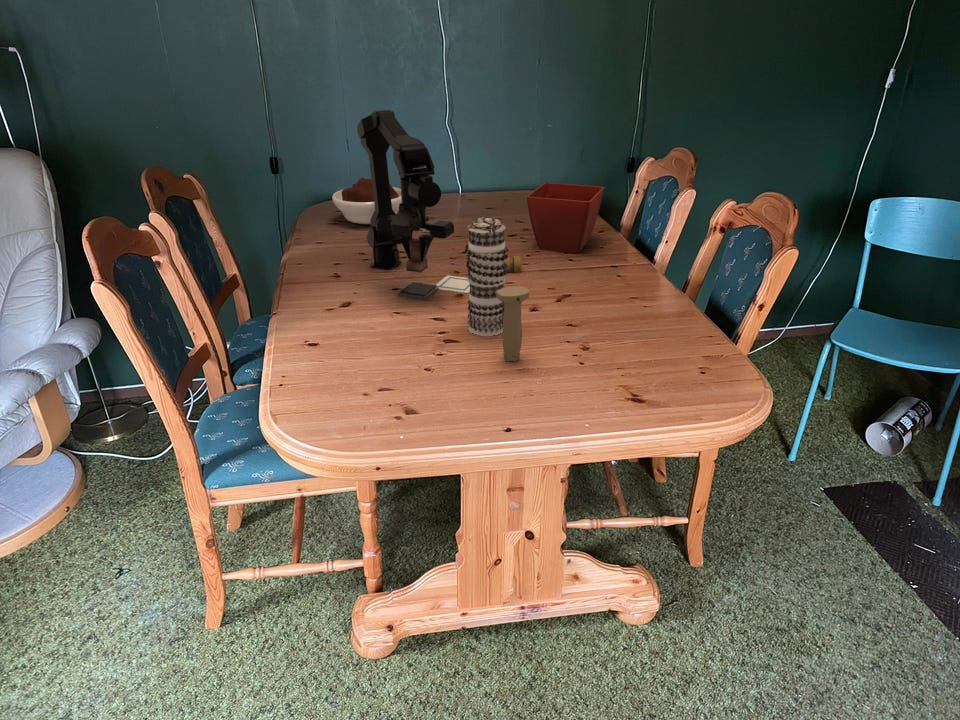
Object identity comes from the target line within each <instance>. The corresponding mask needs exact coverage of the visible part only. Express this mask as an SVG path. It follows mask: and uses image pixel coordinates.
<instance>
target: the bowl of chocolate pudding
mask: <svg viewBox="0 0 960 720" xmlns="http://www.w3.org/2000/svg"><path fill="white" fill-rule="evenodd" d="M389 184H390V193H391V202H392V209H393V211H394V212H395V214H398V212H399V204H400V203H402V199H401V188H398V187H395V186H392V185H391V183H390V182H389ZM331 198H332V202H333V204H334V206H336V207H337V209H338V210H339V211H341V213H342V214H343V216H344V218H345V220H347V221H348V222H351V223H353V224H359V225H371V221H370V220H371V217H372V215H373V213H374V211H375V205H374V196H373V188H372V179H371V178H365V177H360V178H358V180H357V182H356V183H353V184H352V185H351V187H347V188H344V189H340V190H338V191H336V192H334V193H333V194H332V197H331Z"/></svg>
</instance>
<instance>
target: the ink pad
mask: <svg viewBox="0 0 960 720" xmlns="http://www.w3.org/2000/svg"><path fill="white" fill-rule="evenodd" d="M438 291H439V286H436V284H428V283H421V282H416V281H411V282H409V283H408V284H407V285H406V286H405V287H403V288H402V289H400V290H399V291H398V292H397V293H396V294H397V295H396V296H397V298H406V299H410V300H411V299H412V300H419V301H425V302H426V301H428V300H429V299H430V298H431V297H432V296H434V295H435V293H437V292H438Z"/></svg>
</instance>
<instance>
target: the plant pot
mask: <svg viewBox="0 0 960 720" xmlns="http://www.w3.org/2000/svg"><path fill="white" fill-rule="evenodd" d="M604 191H605V187H604V186H596V185H581V184H569V183H556V182H543V183H542V184H541V185H539V186H538V187H537V188H536V189H534V190H532V191H531V192H530V193H529V194H527V195H526V201H527V208H528V215H529V219H530V224H531V227H532V231H533V234H534V238H535V241H536V242H535V243H536V244H537V247H538V249H540V250H545V251H546V250H547V251H554V252H564V253H565V252H566V253H572V254H573V253H575V254H578V253H580V252H581V251H582V250H583V248H584V247H585V246H586V245H587V244H588V242H589V241H590V238H591V236H592V233H593V231H594V227H595V224H596V222H597V219H598V216H599V211H600V208H601V205H602V204H601V203H602V198H603V195H604Z"/></svg>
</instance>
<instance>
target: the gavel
mask: <svg viewBox="0 0 960 720" xmlns="http://www.w3.org/2000/svg"><path fill="white" fill-rule="evenodd" d="M503 262H505V263H506V264H507V267H506V268H505V269H504V270H506V271H507V272H508V273H510V272H513V273H521V272H522V258H521V255H513V256H512V257H509V256H508V258H507V259H505V260H503Z"/></svg>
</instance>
